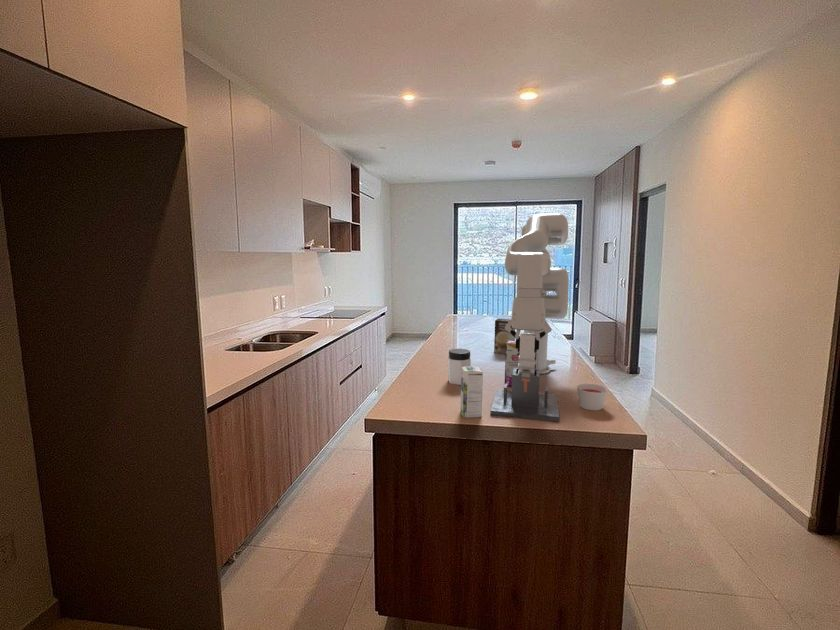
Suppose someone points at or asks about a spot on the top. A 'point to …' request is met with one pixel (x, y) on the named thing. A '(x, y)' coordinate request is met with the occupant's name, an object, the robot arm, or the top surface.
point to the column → (527, 353)
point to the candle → (591, 396)
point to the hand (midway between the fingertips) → (527, 350)
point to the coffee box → (502, 336)
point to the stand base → (525, 399)
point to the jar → (457, 364)
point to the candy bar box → (513, 361)
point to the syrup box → (471, 391)
